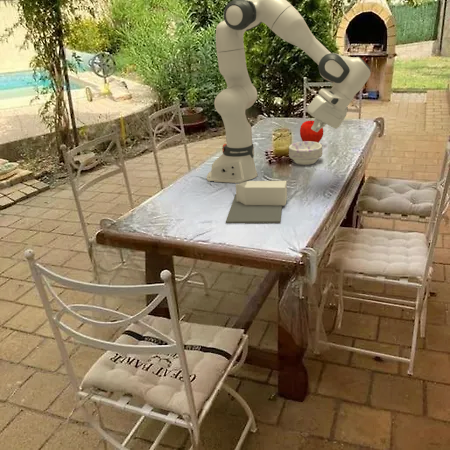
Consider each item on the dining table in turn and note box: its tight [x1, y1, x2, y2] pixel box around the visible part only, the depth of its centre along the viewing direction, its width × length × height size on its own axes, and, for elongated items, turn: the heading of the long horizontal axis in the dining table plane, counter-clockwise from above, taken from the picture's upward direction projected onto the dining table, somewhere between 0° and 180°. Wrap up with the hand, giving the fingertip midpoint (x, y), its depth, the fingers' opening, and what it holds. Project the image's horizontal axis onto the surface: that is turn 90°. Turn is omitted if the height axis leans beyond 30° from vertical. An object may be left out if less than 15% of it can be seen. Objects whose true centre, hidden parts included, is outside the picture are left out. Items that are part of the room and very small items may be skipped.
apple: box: [299, 120, 324, 143], centre depth 243 cm, size 12×12×13 cm
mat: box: [225, 194, 283, 224], centre depth 178 cm, size 19×26×1 cm
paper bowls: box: [288, 141, 323, 166], centre depth 222 cm, size 15×15×8 cm
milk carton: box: [235, 180, 288, 206], centre depth 180 cm, size 7×7×19 cm
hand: (313, 130), depth 184 cm, fingers closed
